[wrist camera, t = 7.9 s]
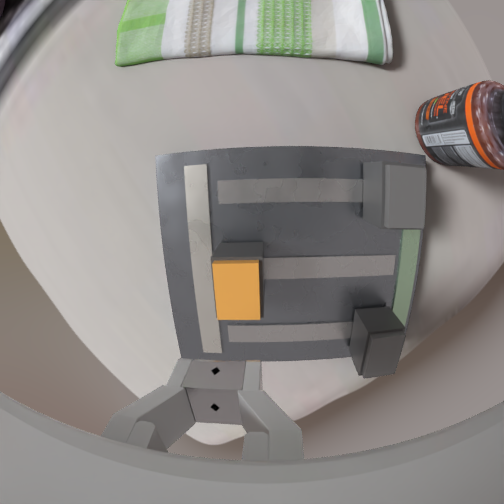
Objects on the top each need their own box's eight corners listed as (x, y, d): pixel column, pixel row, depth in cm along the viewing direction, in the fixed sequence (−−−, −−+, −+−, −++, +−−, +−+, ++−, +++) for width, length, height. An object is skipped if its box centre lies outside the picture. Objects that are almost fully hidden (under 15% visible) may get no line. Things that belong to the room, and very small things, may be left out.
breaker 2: (355, 309, 20) (370, 336, 16) (388, 306, 20) (408, 332, 16) (348, 350, 21) (360, 380, 17) (380, 346, 21) (396, 375, 17)
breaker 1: (363, 162, 17) (386, 160, 13) (400, 165, 17) (428, 165, 13) (362, 219, 18) (384, 231, 14) (399, 220, 18) (426, 231, 14)
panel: (165, 156, 20) (154, 155, 18) (413, 156, 19) (426, 155, 17) (187, 345, 25) (181, 359, 23) (393, 339, 23) (401, 351, 21)
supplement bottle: (429, 86, 17) (514, 53, 6) (470, 133, 17) (559, 130, 7) (400, 131, 18) (494, 112, 7) (444, 179, 19) (541, 195, 8)
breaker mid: (220, 242, 19) (208, 260, 15) (263, 241, 19) (262, 259, 15) (224, 295, 20) (214, 322, 17) (264, 294, 20) (263, 322, 16)
